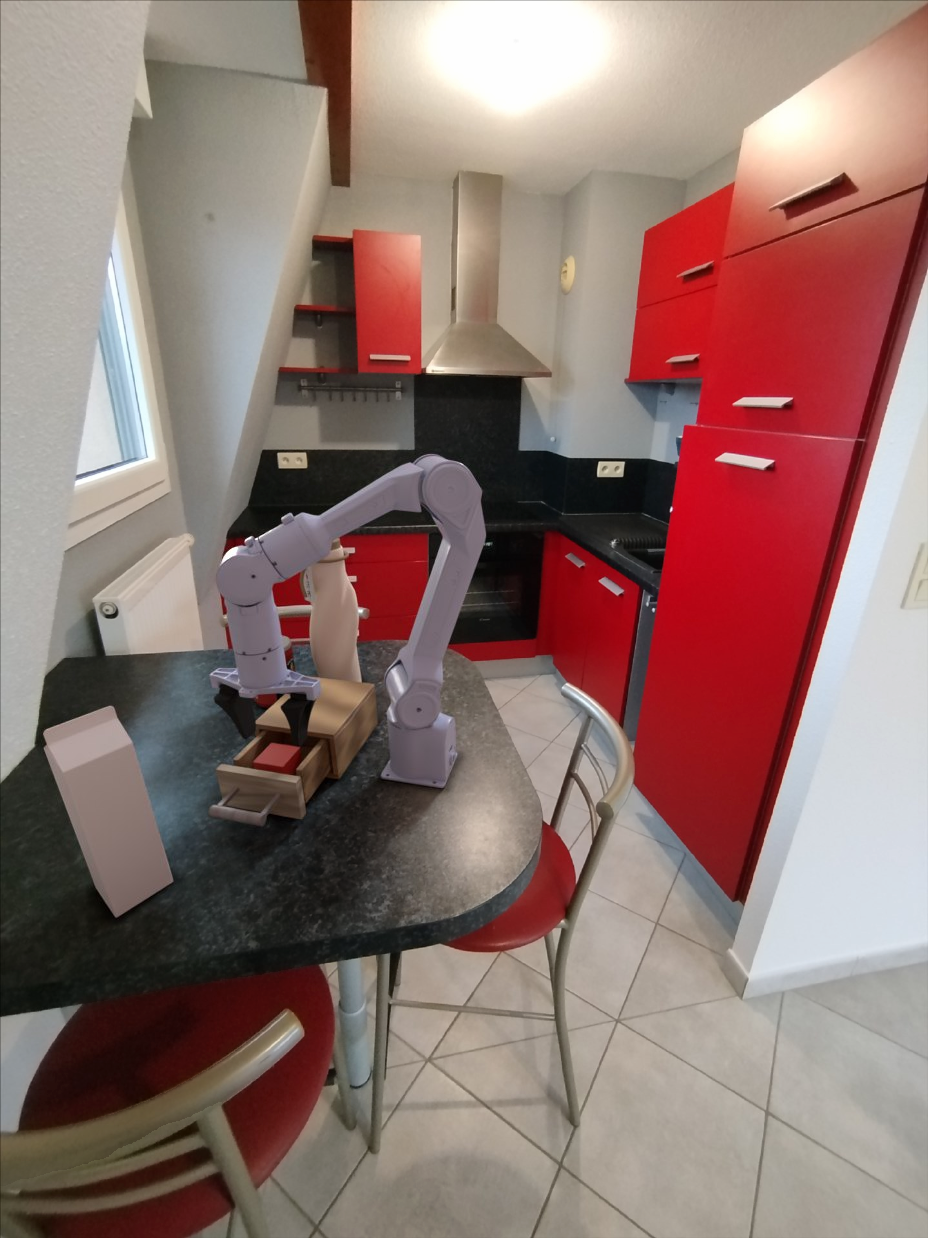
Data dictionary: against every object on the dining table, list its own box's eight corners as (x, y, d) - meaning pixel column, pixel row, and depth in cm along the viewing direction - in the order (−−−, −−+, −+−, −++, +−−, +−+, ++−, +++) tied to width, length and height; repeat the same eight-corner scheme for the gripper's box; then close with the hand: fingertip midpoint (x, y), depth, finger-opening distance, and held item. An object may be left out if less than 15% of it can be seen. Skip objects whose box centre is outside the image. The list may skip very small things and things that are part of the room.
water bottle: (338, 703, 95) (320, 551, 84) (302, 690, 99) (281, 544, 88) (374, 678, 103) (363, 537, 92) (339, 668, 107) (324, 532, 97)
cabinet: (339, 779, 76) (333, 734, 73) (260, 767, 78) (252, 723, 76) (378, 723, 89) (374, 683, 86) (309, 714, 92) (304, 675, 89)
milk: (174, 882, 60) (126, 715, 51) (115, 920, 55) (52, 744, 47) (151, 855, 63) (103, 694, 55) (94, 888, 59) (32, 719, 51)
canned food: (286, 711, 93) (277, 654, 88) (245, 706, 94) (234, 650, 90) (306, 689, 100) (299, 636, 95) (268, 685, 101) (259, 632, 97)
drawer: (280, 849, 63) (273, 810, 61) (197, 832, 65) (188, 795, 63) (347, 755, 79) (344, 722, 77) (279, 745, 82) (274, 713, 80)
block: (304, 773, 74) (300, 746, 72) (287, 794, 70) (282, 767, 68) (276, 768, 75) (271, 742, 73) (257, 789, 71) (252, 762, 69)
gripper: (184, 654, 63) (207, 749, 68) (294, 666, 60) (309, 765, 65) (222, 630, 69) (240, 719, 74) (324, 640, 66) (335, 732, 71)
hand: (274, 738), depth 70 cm, fingers open, 7 cm apart
